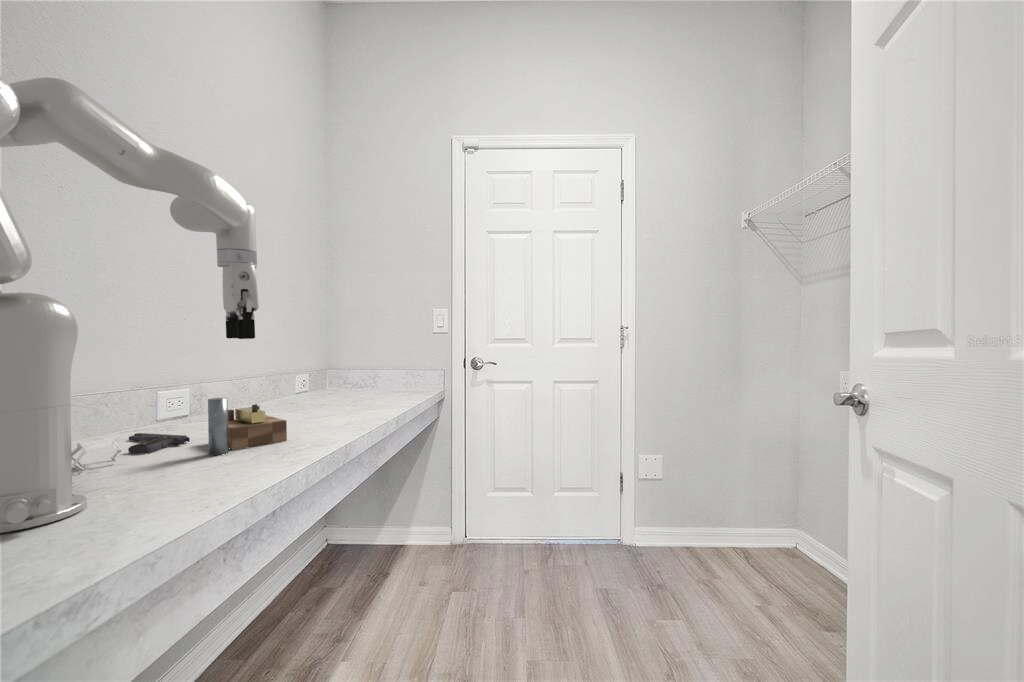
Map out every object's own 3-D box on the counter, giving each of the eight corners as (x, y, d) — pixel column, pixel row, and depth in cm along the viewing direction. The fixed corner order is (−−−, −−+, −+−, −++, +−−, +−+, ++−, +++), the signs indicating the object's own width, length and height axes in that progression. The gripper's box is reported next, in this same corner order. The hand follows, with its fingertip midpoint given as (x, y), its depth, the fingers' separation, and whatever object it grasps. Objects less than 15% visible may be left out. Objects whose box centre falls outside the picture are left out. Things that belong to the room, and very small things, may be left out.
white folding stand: (71, 464, 93) (71, 440, 93) (125, 458, 97) (125, 435, 97) (52, 480, 83) (52, 453, 83) (113, 472, 87) (113, 446, 87)
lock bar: (265, 421, 109) (265, 404, 109) (251, 423, 107) (251, 406, 107) (248, 416, 116) (248, 401, 116) (235, 418, 114) (235, 402, 114)
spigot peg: (230, 453, 100) (230, 398, 100) (212, 456, 98) (211, 400, 97) (224, 451, 103) (224, 397, 103) (206, 454, 100) (205, 399, 100)
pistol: (143, 445, 100) (197, 433, 111) (85, 441, 106) (142, 430, 117) (144, 457, 100) (197, 444, 111) (86, 452, 106) (142, 440, 117)
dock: (286, 440, 112) (286, 410, 112) (232, 450, 103) (231, 416, 103) (265, 434, 120) (265, 405, 120) (213, 442, 111) (212, 411, 111)
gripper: (268, 257, 97) (271, 338, 98) (245, 265, 109) (248, 337, 110) (227, 254, 92) (230, 339, 92) (208, 263, 104) (211, 338, 105)
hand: (240, 338), depth 101 cm, fingers open, 9 cm apart
